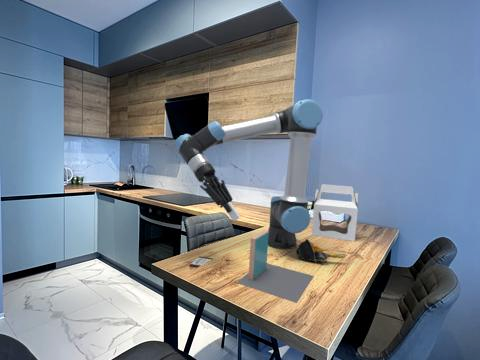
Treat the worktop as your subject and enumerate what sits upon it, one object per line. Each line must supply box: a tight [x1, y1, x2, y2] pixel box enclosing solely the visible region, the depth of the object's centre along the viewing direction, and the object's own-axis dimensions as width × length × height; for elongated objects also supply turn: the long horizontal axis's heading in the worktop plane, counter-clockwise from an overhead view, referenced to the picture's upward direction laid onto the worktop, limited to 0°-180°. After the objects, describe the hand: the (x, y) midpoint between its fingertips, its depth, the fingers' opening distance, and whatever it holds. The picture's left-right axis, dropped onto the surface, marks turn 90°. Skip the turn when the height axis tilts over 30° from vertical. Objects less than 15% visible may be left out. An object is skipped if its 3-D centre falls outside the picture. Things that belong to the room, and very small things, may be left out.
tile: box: [248, 230, 269, 280], centre depth 89 cm, size 11×2×14 cm, turn 151°
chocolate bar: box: [188, 255, 214, 269], centre depth 96 cm, size 9×1×18 cm
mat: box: [235, 262, 315, 304], centre depth 86 cm, size 20×20×1 cm
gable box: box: [311, 183, 359, 242], centre depth 141 cm, size 22×13×28 cm, turn 70°
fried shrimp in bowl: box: [295, 239, 346, 264], centre depth 105 cm, size 9×11×18 cm
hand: (236, 218), depth 92 cm, fingers closed
